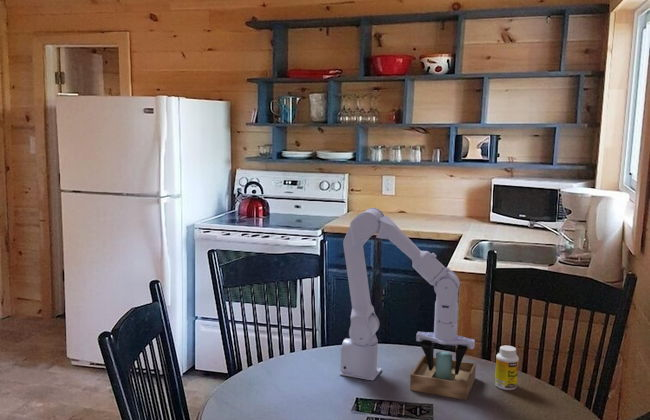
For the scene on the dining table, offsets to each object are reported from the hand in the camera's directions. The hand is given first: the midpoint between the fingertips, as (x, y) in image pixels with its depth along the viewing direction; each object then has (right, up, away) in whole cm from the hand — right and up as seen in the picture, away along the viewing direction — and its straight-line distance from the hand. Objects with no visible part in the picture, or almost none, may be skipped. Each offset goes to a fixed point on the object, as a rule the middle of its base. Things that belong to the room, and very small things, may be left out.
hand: (443, 371), depth 152 cm
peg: (0, -3, 0) cm, 3 cm away
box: (0, -3, 0) cm, 3 cm away
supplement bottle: (+16, -4, -1) cm, 16 cm away
